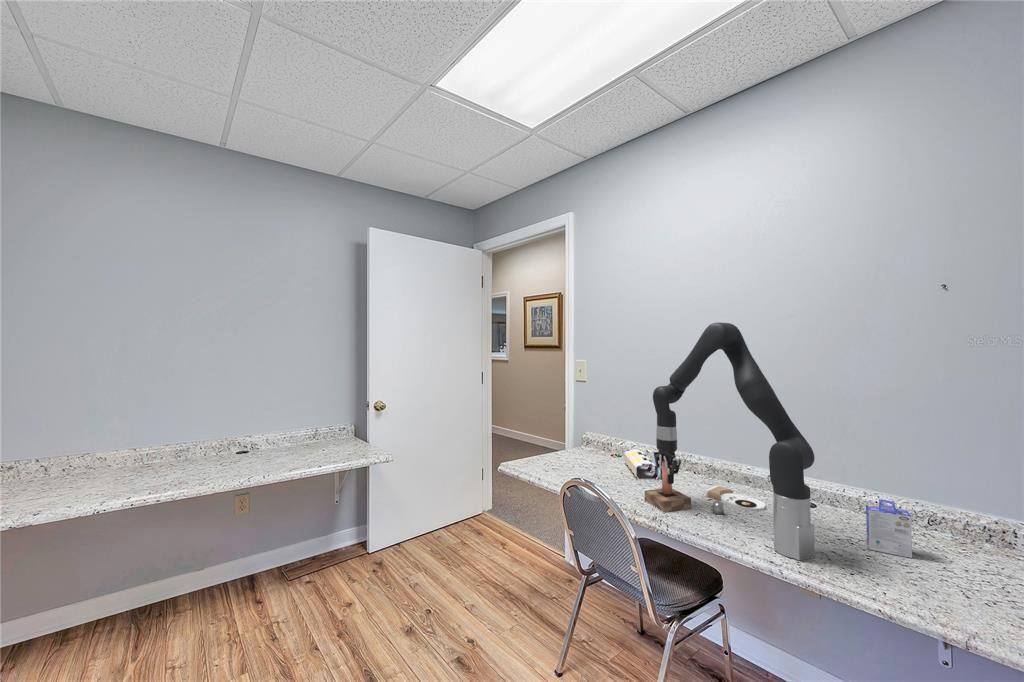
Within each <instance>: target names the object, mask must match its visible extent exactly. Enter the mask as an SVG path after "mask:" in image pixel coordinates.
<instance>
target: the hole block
mask: <svg viewBox="0 0 1024 682" xmlns="http://www.w3.org/2000/svg"><path fill="white" fill-rule="evenodd" d="M646 501H647V502H648V504H649V503H650V505H651V504H652V505H653V506H652V505H651V506H652V507H654V506H655V507H654V508H656V507H657V508H658V509H657V508H656V509H657V510H659V509H660V510H659V511H661V510H662V511H663V512H662V511H661V512H662V513H668V512H667V511H671V512H676V511H675V510H678V511H683V510H682V509H685V510H690V508H691V509H692V497H690V496H688V495H686V494H684V493H682V492H680V491H678V490H676V489H674V488H672V494H664V493H662V487H661V488H655V489H646V490H644V502H646ZM647 502H646V503H647Z"/></svg>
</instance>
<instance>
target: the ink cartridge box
mask: <svg viewBox="0 0 1024 682" xmlns="http://www.w3.org/2000/svg"><path fill="white" fill-rule="evenodd" d="M884 503H885V504H884ZM886 503H887V505H886ZM888 504H890V505H888ZM865 514H866V515H865V516H866V518H865V520H866V546H867V549H868V550H870V551H876V552H880V553H885V554H888V555H889V554H890V555H895V556H900V557H906V558H911V559H912V557H913V547H912V546H913V544H912V543H913V541H912V540H913V539H912V515H911V514H910V513H909V511H908V510H905V509H899V508H896V503H895V501H894V500H893V501H892V500H887V499H880V498H879V499H878V506H877V505H869V504H865Z"/></svg>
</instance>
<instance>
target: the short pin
mask: <svg viewBox="0 0 1024 682" xmlns="http://www.w3.org/2000/svg"><path fill="white" fill-rule="evenodd" d="M724 505H725V504H724V503H722V502H721V501H718V500H715V501H714V500H713V501H712V514H713V515H714V514H715V515H714V516H717V515H723V516H725V513H724V512H725V511H724V510H725V509H724Z"/></svg>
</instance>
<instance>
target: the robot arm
mask: <svg viewBox="0 0 1024 682" xmlns="http://www.w3.org/2000/svg"><path fill="white" fill-rule="evenodd" d="M718 350H722V351H723V353H724V354H725V356H726V357H727V358H728V360H729V362H730V364H731V366H732V371H733V378H734V384H735V388H736V391H737V393H738V395H739V396H740V398H741V399H742V401H743V403H744V405H745V406H746V407H747V408H748V410H749V411H750V412H751V413H752V414H753V415H754V416H755V417H757V419H759V420H760V421H761V422H762V423H763V424H764V425H765V426H766V427H767V428H768V430H769V431H770V433H771V434H772V436H773V438H774V440H775V443H773V444H772V445H771V447H770V450H769V453H768V464H769V467H768V468H769V479H770V483H771V485H772V491H773V494H772V497H773V499H772V500H773V501H772V504H773V508H772V509H773V549H774V550H775V552H777V553H779V554H780V555H782V556H785V557H788V558H792V559H795V560H797V561H802V560H803V561H804V560H808V559H813V558H815V525H814V524H813V523H812V522H811V520H812V518H811V517H812V516H811V489H810V486H809V485H807V484H806V483H805V476H804V470H807V469H809V468H811V467H812V466H813V465H814V464H815V463H814V462H815V452H814V450H813V449H812V447H811V445H810V443H809V442H808V441H807V439H806V438H805V437H804V436H803V434H802V433H801V431H800V430H799V429H798V427H797V426H796V425H795V423H794V422H793V421H792V420H791V419H792V418H790V416H789V414H788V413H787V411H786V409H785V407H784V406H783V404H782V403H781V401H780V399H779V398H778V396H777V395H776V393H775V391H774V389H773V387H772V386H771V384H770V382H769V381H768V379H767V377H765V375H764V373H763V372H762V370H761V368H760V366H759V364H758V363H757V362H756V360H755V359H754V357H753V356H752V353H751V352H750V350H749V347H748V345H747V343H746V341H745V339H744V336H743V334H742V332H741V330H740V329H739V328H738V326H737V325H735V324H733V323H729V322H713V323H710V324H709V325H707V327H706V328H705V329H704V331H703V332H702V333H701V335H700V337H699V338H698V340H697V342H696V343H695V345H694V346H693V348H692V350H691V351H690V352H689V354H688V355H687V357H685V359H684V360H683V362H681V364H680V365H679V366H678V367H677V368H676V369H675V370H674V371H673V372H672V374H671V375H670V376H669V383H668V385H659V386H656V388H655V389H654V390H653V392H652V393H653V394H652V401H653V407H654V410H655V413H656V434H655V435H656V438H655V440H656V450H658V451H654V457H655V462H656V466H657V468H659V476H660V481H662V461H664V462H665V466H666V468H667V472H668V474H667V478H668V484H672V485H673V484H674V482H675V480H674V479H675V474H676V475H677V474H678V473H679V470H680V467H681V465H682V463H681V462H682V461H681V459H677V458H676V457H677V456H676V451H677V450H678V430H677V415H676V412H675V411H674V410H673V409H672V410H671V407H670V404H675V403H677V402H678V401H679V400H680V399H681V398H682V397H683V395H684V393H685V392H686V389H687V388H688V387H689V386H690V385H691V384H692V383H693V382H694V381H695V379H697V377H698V376H699V374H700V372H701V371H702V367H703V365H704V364H705V362H706V361H707V360H708V358H709V357H710V356H712V355H713V354H714V353H715V352H717V351H718ZM670 464H672V465H671V466H669V465H670ZM670 468H671V471H670Z"/></svg>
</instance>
